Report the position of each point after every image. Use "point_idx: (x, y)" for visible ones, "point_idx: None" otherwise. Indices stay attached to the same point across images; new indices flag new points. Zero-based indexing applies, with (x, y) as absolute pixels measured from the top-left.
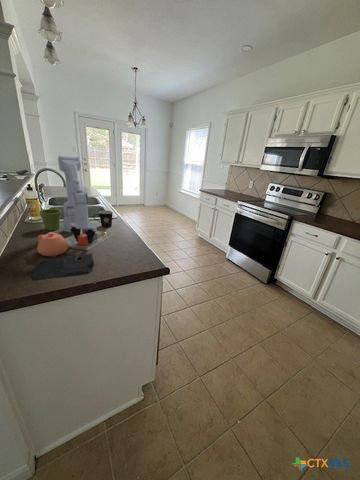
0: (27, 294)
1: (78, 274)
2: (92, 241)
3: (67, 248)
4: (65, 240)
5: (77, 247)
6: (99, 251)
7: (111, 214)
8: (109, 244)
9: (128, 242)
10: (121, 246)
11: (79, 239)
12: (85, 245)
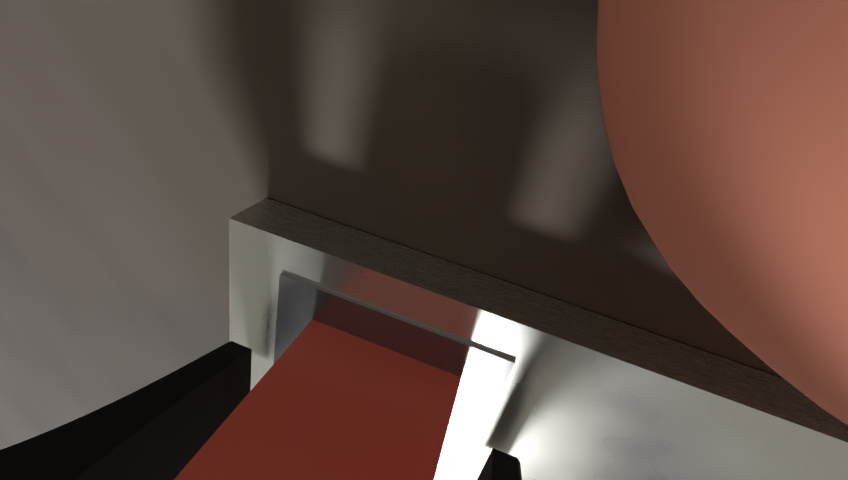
0: None
1: None
2: None
3: (600, 52)
4: (786, 260)
5: (458, 281)
6: (99, 181)
7: None
8: None
9: (31, 426)
10: (10, 339)
11: (390, 465)
12: (310, 317)
